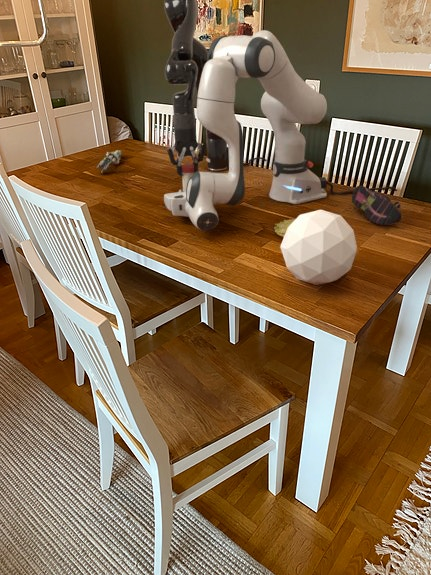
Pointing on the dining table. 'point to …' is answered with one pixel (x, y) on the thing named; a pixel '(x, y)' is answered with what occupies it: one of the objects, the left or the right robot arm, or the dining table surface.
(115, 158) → the figurine
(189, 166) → the lid
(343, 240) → the sphere
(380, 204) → the athletic shoe
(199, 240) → the dining table surface
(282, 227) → the decorative object
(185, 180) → the beige cylinder
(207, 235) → the dining table surface
